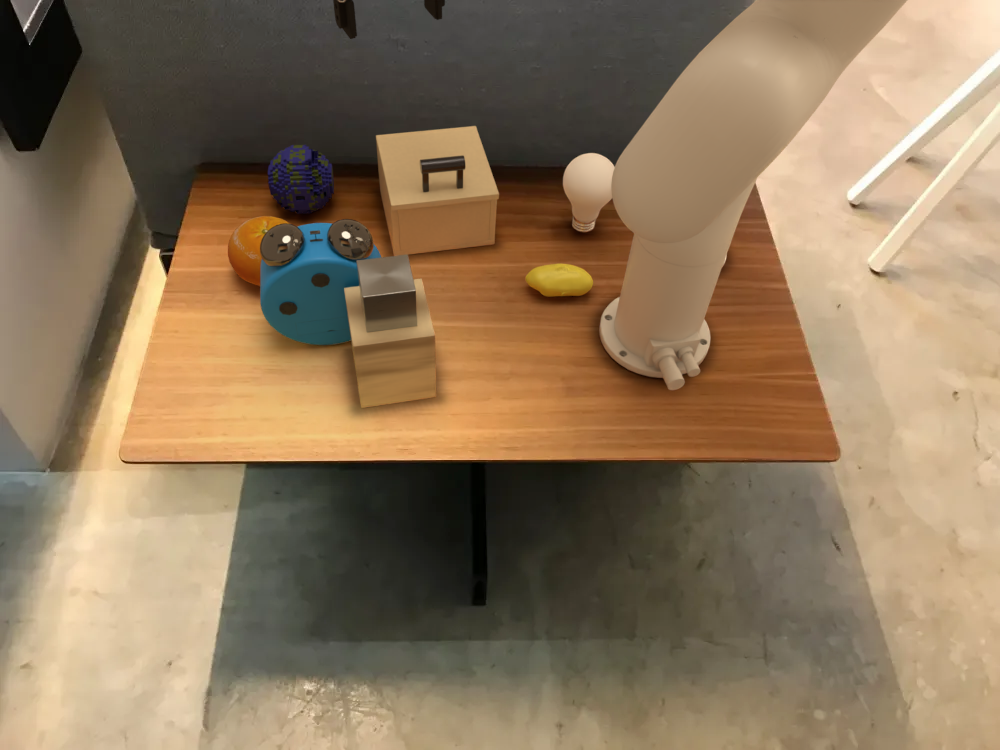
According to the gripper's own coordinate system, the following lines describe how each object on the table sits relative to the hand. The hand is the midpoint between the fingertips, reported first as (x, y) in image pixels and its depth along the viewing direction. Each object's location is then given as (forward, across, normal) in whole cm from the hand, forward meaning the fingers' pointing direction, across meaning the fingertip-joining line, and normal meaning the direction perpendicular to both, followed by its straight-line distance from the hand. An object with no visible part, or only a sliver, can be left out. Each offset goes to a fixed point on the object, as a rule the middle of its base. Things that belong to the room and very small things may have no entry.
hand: (391, 22), depth 90 cm
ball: (+25, -11, +6) cm, 28 cm away
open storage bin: (+25, +3, -3) cm, 26 cm away
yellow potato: (+26, +11, -21) cm, 35 cm away
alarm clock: (+26, -16, -16) cm, 34 cm away
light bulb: (+26, +19, -13) cm, 35 cm away
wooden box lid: (+17, +3, -4) cm, 18 cm away
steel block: (+15, -12, -25) cm, 31 cm away
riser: (+25, -12, -25) cm, 37 cm away
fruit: (+25, -19, -4) cm, 32 cm away
